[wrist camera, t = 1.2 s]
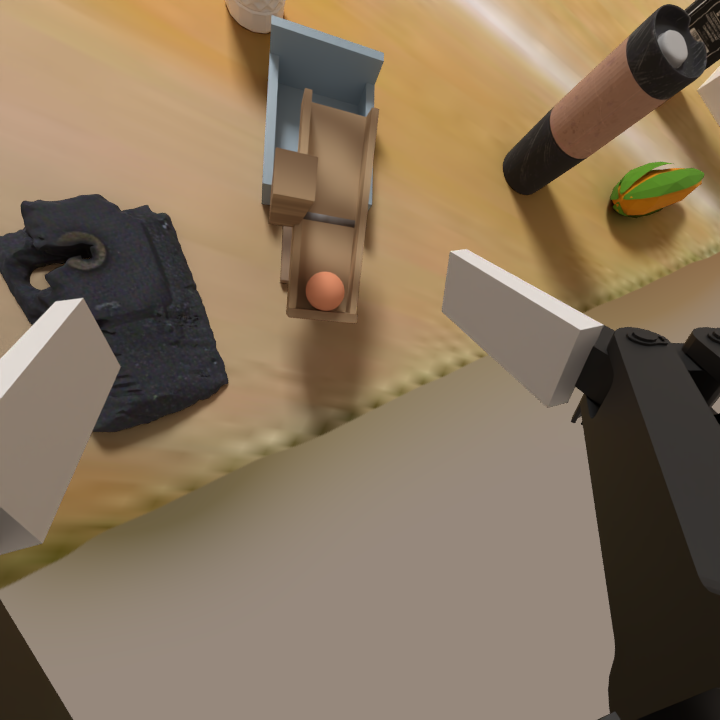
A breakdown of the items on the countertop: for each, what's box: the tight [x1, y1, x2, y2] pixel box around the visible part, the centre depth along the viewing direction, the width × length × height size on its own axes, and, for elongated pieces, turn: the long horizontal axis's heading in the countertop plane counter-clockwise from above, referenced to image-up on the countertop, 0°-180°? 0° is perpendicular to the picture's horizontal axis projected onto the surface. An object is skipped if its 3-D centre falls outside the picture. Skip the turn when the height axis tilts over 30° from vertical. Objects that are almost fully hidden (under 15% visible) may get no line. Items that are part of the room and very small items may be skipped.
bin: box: [262, 15, 384, 210], centre depth 38 cm, size 16×12×7 cm
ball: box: [306, 272, 345, 311], centre depth 30 cm, size 4×4×4 cm
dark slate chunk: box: [0, 194, 228, 432], centre depth 32 cm, size 15×22×5 cm
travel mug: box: [503, 4, 707, 195], centre depth 41 cm, size 8×8×20 cm
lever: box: [269, 88, 379, 323], centre depth 26 cm, size 18×9×12 cm, turn 179°
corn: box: [610, 162, 704, 218], centre depth 55 cm, size 7×8×20 cm
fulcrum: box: [280, 226, 292, 283], centre depth 36 cm, size 7×7×8 cm
